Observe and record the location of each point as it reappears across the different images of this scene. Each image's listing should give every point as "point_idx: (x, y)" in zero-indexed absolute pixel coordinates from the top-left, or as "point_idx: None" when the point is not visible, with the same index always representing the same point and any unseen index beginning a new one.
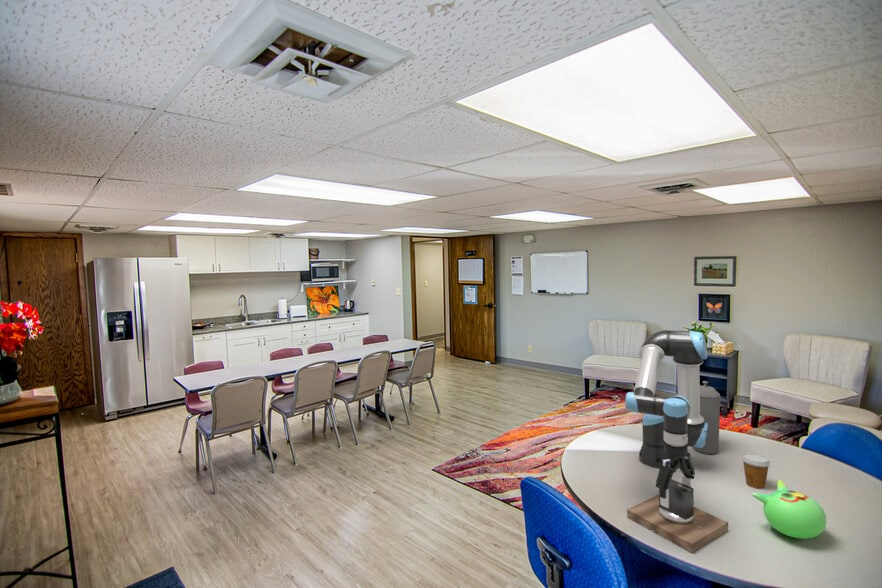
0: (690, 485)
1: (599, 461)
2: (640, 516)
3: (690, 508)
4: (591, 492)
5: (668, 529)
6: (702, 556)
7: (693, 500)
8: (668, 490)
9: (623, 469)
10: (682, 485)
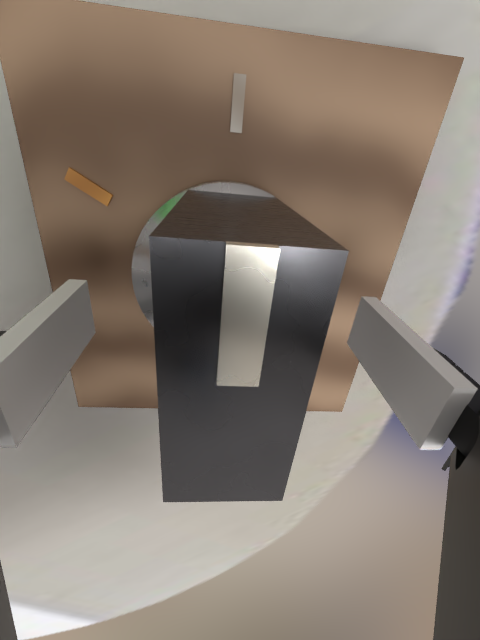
0: (19, 327)
1: (79, 576)
2: (358, 360)
3: (226, 201)
4: (270, 504)
5: (386, 232)
6: (424, 7)
7: (174, 206)
8: (452, 381)
9: (44, 534)
10: (198, 356)
